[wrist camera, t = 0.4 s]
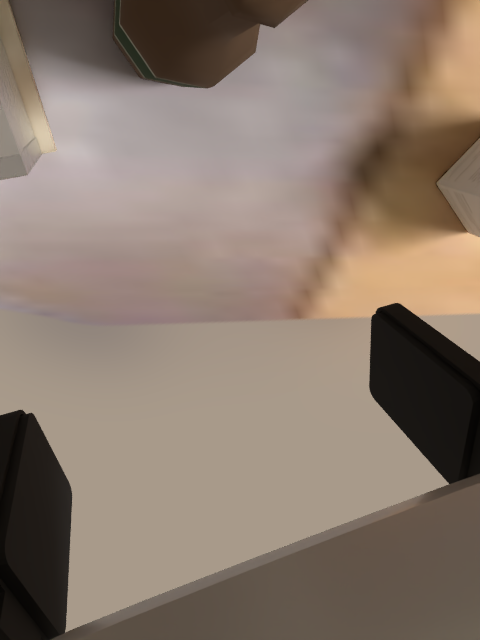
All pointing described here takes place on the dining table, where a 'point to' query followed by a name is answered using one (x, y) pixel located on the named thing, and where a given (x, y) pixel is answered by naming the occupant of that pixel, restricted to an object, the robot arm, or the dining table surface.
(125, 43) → the beer bottle
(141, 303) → the dining table surface
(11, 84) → the cover
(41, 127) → the housing base
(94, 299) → the dining table surface
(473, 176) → the supplement box
